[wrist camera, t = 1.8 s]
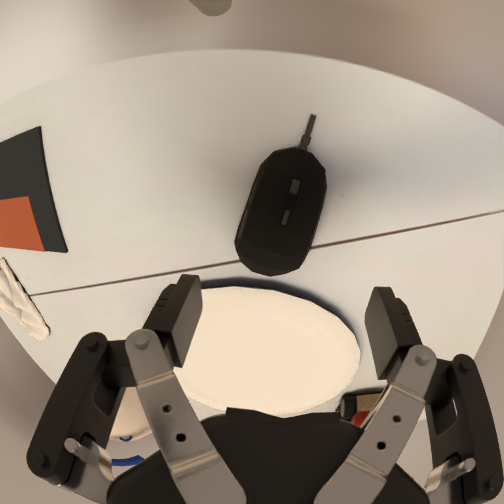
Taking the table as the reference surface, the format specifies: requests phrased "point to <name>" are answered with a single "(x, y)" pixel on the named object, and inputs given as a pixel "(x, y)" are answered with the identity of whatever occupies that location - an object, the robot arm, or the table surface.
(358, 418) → the toy fire truck
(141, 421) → the kettle
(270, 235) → the gaming mouse
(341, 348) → the plate
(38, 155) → the mat
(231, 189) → the table surface
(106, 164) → the table surface
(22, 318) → the cloth
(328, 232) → the table surface
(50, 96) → the table surface
